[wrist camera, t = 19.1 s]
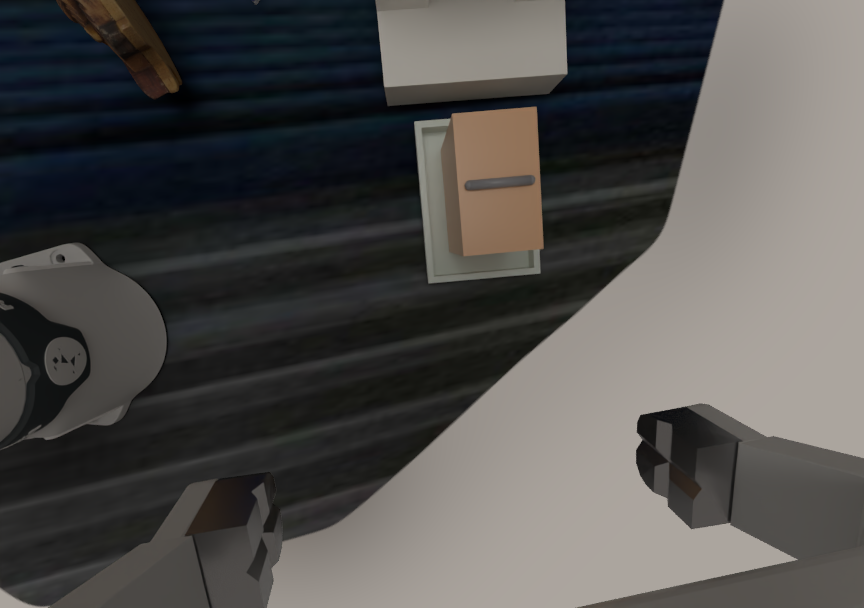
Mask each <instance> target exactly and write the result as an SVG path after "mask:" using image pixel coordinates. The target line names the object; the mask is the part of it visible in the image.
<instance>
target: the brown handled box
mask: <svg viewBox="0 0 864 608" xmlns="http://www.w3.org/2000/svg"><path fill="white" fill-rule="evenodd" d="M441 161H442V173H443V184H444V196H445V208H446V220H447V232H448V243H449V252H451V253H454V254H457V255H461V256H473V255H484V254H494V253H505V252H515V251H526V250H536V249H544V246H543V226H542V206H541V186H540V166H539V146H538V126H537V107H527V108H515V109H503V110H491V111H479V112H467V113H455V114H452V116H451V119H450V122H449V125H448V129H447V132H446V135H445V138H444V141H443V144H442V148H441Z"/></svg>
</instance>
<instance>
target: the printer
mask: <svg viewBox="0 0 864 608" xmlns="http://www.w3.org/2000/svg"><path fill="white" fill-rule="evenodd" d="M375 1H376V8H377V17H378V27H379V37H380V48H381V58H382V68H383V78H384V88H385V94H386V99H387V105H388V106H393V105H407V104H420V103H433V102H446V101H460V100H473V99H486V98H499V97H512V96H526V95H539V94H549V93H550V92H551V91H552V90H553V89H554V88H555V86H556V85H557V84H558V83H559V82H560V81H561V80H562V79H563V78H564V77H565V76H566V75H567V51H566V21H565V0H375Z"/></svg>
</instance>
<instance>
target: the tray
mask: <svg viewBox="0 0 864 608" xmlns="http://www.w3.org/2000/svg"><path fill="white" fill-rule="evenodd" d="M449 122H450V119H441V120H428V121H415V122H414V131H415V143H416V154H417V165H418V177H419V188H420V200H421V211H422V222H423V234H424V245H425V257H426V268H427V279H428V283H440V282H451V281H462V280H473V279H484V278H495V277H506V276H517V275H528V274H539V273H540V251H539V249H536V250H526V251H515V252H505V253H494V254H484V255H473V256H461V255H457V254H454V253H451V252H449V243H448V232H447V220H446V208H445V196H444V184H443V173H442V161H441V148H442V144H443V141H444V138H445V135H446V132H447V129H448V125H449Z"/></svg>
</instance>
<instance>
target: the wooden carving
mask: <svg viewBox="0 0 864 608" xmlns="http://www.w3.org/2000/svg"><path fill="white" fill-rule="evenodd" d="M56 1H57V3H58V5H59V6H60V8H61V9H62V10H63V12H64V13H65V14H66V15H67V16H68V17H69V19H71V20H72V21H74V22H75V23H79V24H80V25H82V26H83V27H84V29H85V30H86V32H87V33H88V34H89V35H90V36H91V37H92V38H93V39H94V40H95V41H97V42H100V43H101V42H103V43H105V44H106V45H108V46H110V48H111V49H112V50H113V51H114V52H115V53H116V54H117V55H118V56H119V57H120V58H121V59H122V61H123V62H124V64H125V65H126V67H127V68H128V70H129V72H130V73H131V75H132V76H133V78H134V80H135V81H136V83H137V84H138V85H139V87H140V88H141V89H142V91H143V92H144V93H145V94H146V95H148V96H149V97H151V98H152V99H157V98H159V97H161V96H163V95H165V94H166V93H175V92H177V91H178V90H179V85H182V80H181V78H180V75H179V74H178V72H177V70H176V68H175V66H174V64H173V62H172V60H171V58H170V56H169V54H168V53H167V51H166V49H165V47H164V46H163V44H162V42H161V40H160V39H159V37H158V35H157V34H156V32H155V30H154V29H153V27H152V26H151V24H150V22H149V21H148V19H147V18H146V16H145V15H144V13H143V12H142V10H141V9H140V7H139V6H138V4H137V3H136V1H135V0H56Z"/></svg>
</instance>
